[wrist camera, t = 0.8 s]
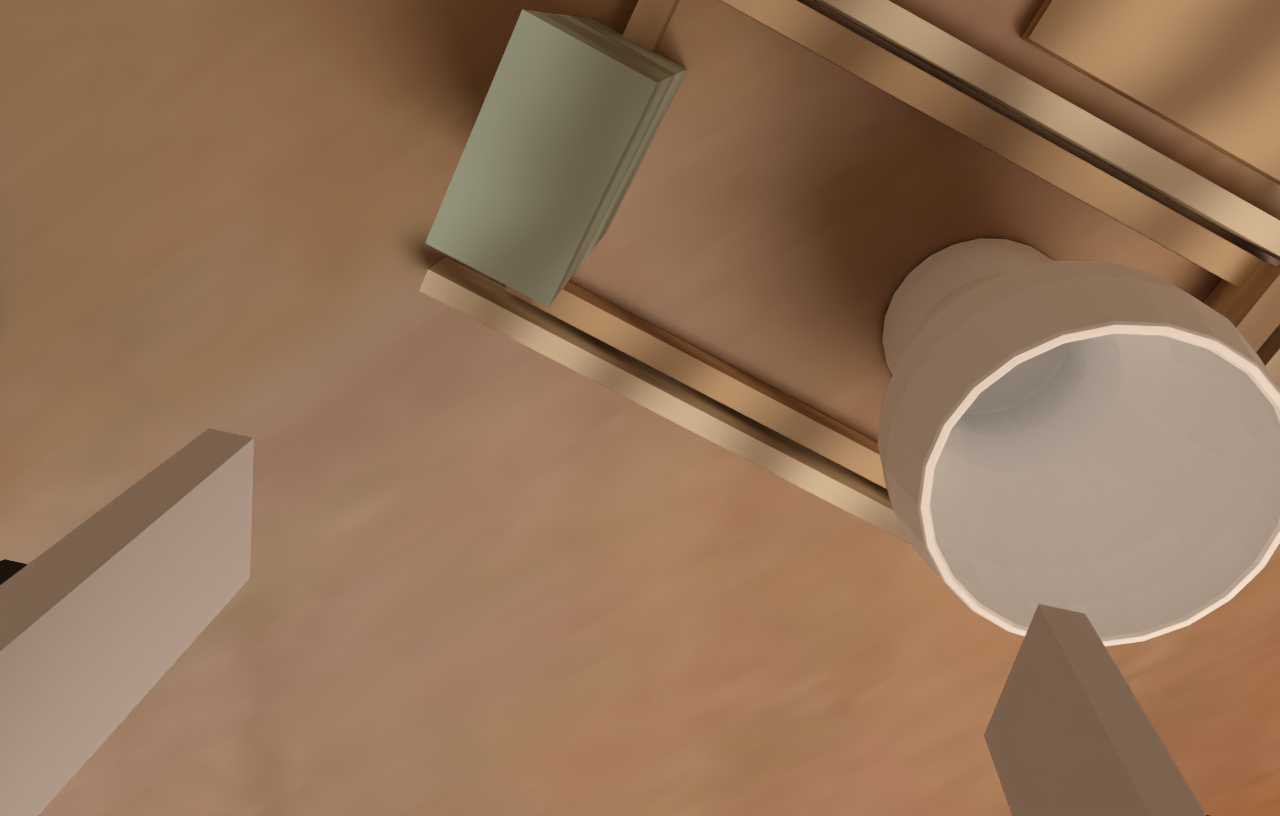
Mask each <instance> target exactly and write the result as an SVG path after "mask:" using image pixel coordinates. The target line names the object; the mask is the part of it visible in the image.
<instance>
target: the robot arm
mask: <svg viewBox="0 0 1280 816" xmlns="http://www.w3.org/2000/svg"><path fill="white" fill-rule="evenodd" d="M253 453H254V438H252V437H247V436H242V435H237V434H233V433H228V432H223V431H218V430H214V429H208V430H206V431H205V432H204V433H202V434H201V435H200V436H198V437H197V438H196V439H194V440H193V441H192V442H190V443H189V444H188V445H186V446H185V447H184V448H182V449H181V450H180V451H178V452H177V453H176V454H174V455H173V456H172V457H170V458H169V459H168V460H166V461H165V462H164V463H162V464H161V465H160V466H158V467H157V468H156V469H154V470H153V471H152V472H150V473H149V474H148V475H146V476H145V477H144V478H142V479H141V480H140V481H138V482H137V483H136V484H134V485H133V486H132V487H130V488H129V489H128V490H126V491H125V492H124V493H122V494H121V495H120V496H118V497H117V498H116V499H114V500H113V501H112V502H110V503H109V504H108V505H106V506H105V507H104V508H102V509H101V510H100V511H98V512H97V513H96V514H94V515H93V516H92V517H90V518H89V519H88V520H86V521H85V522H84V523H82V524H81V525H80V526H78V527H77V528H76V529H74V530H73V531H72V532H71V533H69V534H68V535H67V536H65V537H64V538H63V539H61V540H60V541H59V542H57V543H56V544H55V545H53V546H52V547H51V548H49V549H48V550H47V551H45V552H44V553H43V554H41V555H40V556H39V557H37V558H36V559H35V560H33V561H32V562H31V563H29V564H24V563H19V562H15V561H10V560H5V559H4V560H2V561H0V816H38V815H39V814H40V813H41V812H42V811H43V810H44V809H45V807H46V806H47V805H48V804H49V803H50V802H51V801H52V800H53V798H54V797H55V796H56V795H57V794H58V793H59V792H60V791H61V789H62V788H63V787H64V786H65V785H66V784H67V783H68V782H69V780H70V779H71V778H72V777H73V776H74V775H75V774H76V773H77V771H78V770H79V769H80V768H81V767H82V766H83V765H84V764H85V762H86V761H87V760H88V759H89V758H90V757H91V756H92V755H93V754H94V752H95V751H96V750H97V749H98V748H99V747H100V746H101V745H102V743H103V742H104V741H105V740H106V739H107V738H108V737H109V736H110V734H111V733H112V732H113V731H114V730H115V729H116V728H117V727H118V725H119V724H120V723H121V722H122V721H123V720H124V719H125V718H126V716H127V715H128V714H129V713H130V712H131V711H132V710H133V709H134V707H135V706H136V705H137V704H138V703H139V702H140V701H141V700H142V699H143V697H144V696H145V695H146V694H147V693H148V692H149V691H150V690H151V688H152V687H153V686H154V685H155V684H156V683H157V682H158V681H159V679H160V678H161V677H162V676H163V675H164V674H165V673H166V672H167V670H168V669H169V668H170V667H171V666H172V665H173V664H174V663H175V661H176V660H177V659H178V658H179V657H180V656H181V655H182V654H183V652H184V651H185V650H186V649H187V648H188V647H189V646H190V645H191V643H192V642H193V641H194V640H195V639H196V638H197V637H198V636H199V635H200V633H201V632H202V631H203V630H204V629H205V628H206V627H207V626H208V624H209V623H210V622H211V621H212V620H213V619H214V618H215V617H216V615H217V614H218V613H219V612H220V611H221V610H222V609H223V608H224V606H225V605H226V604H227V603H228V602H229V601H230V600H231V599H232V597H233V596H234V595H235V594H236V593H237V592H238V591H239V590H240V588H241V587H242V586H243V585H244V584H245V583H246V582H247V581H248V579H249V578H250V556H251V522H252V487H253ZM984 737H985V739H986V742H987V745H988V748H989V751H990V754H991V756H992V759H993V762H994V765H995V768H996V771H997V773H998V776H999V779H1000V782H1001V785H1002V788H1003V790H1004V793H1005V796H1006V799H1007V802H1008V805H1009V807H1010V810H1011V813H1012V816H1209V815H1206V814H1205V812H1204V810H1203V809H1202V807H1201V806H1200V804H1199V802H1198V801H1197V799H1196V797H1195V796H1194V794H1193V792H1192V791H1191V789H1190V787H1189V786H1188V784H1187V782H1186V781H1185V779H1184V777H1183V776H1182V774H1181V772H1180V771H1179V769H1178V767H1177V766H1176V764H1175V762H1174V761H1173V759H1172V757H1171V756H1170V754H1169V752H1168V751H1167V749H1166V747H1165V746H1164V744H1163V742H1162V741H1161V739H1160V737H1159V736H1158V734H1157V732H1156V731H1155V729H1154V727H1153V726H1152V724H1151V722H1150V721H1149V719H1148V717H1147V716H1146V714H1145V712H1144V711H1143V709H1142V707H1141V706H1140V704H1139V702H1138V701H1137V699H1136V697H1135V696H1134V694H1133V692H1132V691H1131V689H1130V687H1129V686H1128V684H1127V682H1126V681H1125V679H1124V677H1123V676H1122V674H1121V672H1120V671H1119V669H1118V667H1117V666H1116V664H1115V662H1114V661H1113V659H1112V657H1111V656H1110V654H1109V652H1108V651H1107V649H1106V647H1105V646H1104V644H1103V642H1102V641H1101V639H1100V638H1099V636H1098V634H1097V633H1096V631H1095V629H1094V628H1093V626H1092V624H1091V623H1090V621H1089V619H1088V618H1087V616H1086V614H1084V613H1080V612H1075V611H1070V610H1065V609H1061V608H1056V607H1051V606H1047V605H1042V604H1038V607H1037V609H1036V611H1035V614H1034V616H1033V619H1032V621H1031V623H1030V626H1029V628H1028V631H1027V633H1026V635H1025V638H1024V640H1023V643H1022V645H1021V647H1020V650H1019V652H1018V655H1017V657H1016V659H1015V662H1014V664H1013V667H1012V669H1011V671H1010V674H1009V676H1008V679H1007V681H1006V683H1005V686H1004V688H1003V691H1002V693H1001V695H1000V698H999V700H998V703H997V705H996V707H995V710H994V712H993V715H992V717H991V719H990V722H989V724H988V727H987V729H986V732H985V734H984Z"/></svg>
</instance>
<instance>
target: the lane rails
mask: <svg viewBox="0 0 1280 816" xmlns="http://www.w3.org/2000/svg"><path fill="white" fill-rule="evenodd" d="M814 1H816V2H818V3H820V4H821V5H823V6H825V7H827V8H829V9H830V10H832V11H834V12H836V13H837V14H839V15H841V16H843V17H845V18H846V19H848V20H850V21H852V22H854V23H855V24H857V25H859V26H861V27H863V28H864V29H866V30H868V31H870V32H871V33H873V34H875V35H877V36H879V37H880V38H882V39H884V40H886V41H888V42H889V43H891V44H893V45H895V46H896V47H898V48H900V49H902V50H904V51H905V52H907V53H909V54H911V55H913V56H914V57H916V58H918V59H920V60H922V61H923V62H925V63H927V64H929V65H930V66H932V67H934V68H936V69H938V70H939V71H941V72H943V73H945V74H947V75H948V76H950V77H952V78H954V79H955V80H957V81H959V82H961V83H963V84H964V85H966V86H968V87H970V88H972V89H973V90H975V91H977V92H979V93H981V94H982V95H984V96H986V97H988V98H989V99H991V100H993V101H995V102H997V103H998V104H1000V105H1002V106H1004V107H1006V108H1007V109H1009V110H1011V111H1013V112H1014V113H1016V114H1018V115H1020V116H1022V117H1023V118H1025V119H1027V120H1029V121H1031V122H1032V123H1034V124H1036V125H1038V126H1040V127H1041V128H1043V129H1045V130H1047V131H1048V132H1050V133H1052V134H1054V135H1056V136H1057V137H1059V138H1061V139H1063V140H1065V141H1066V142H1068V143H1070V144H1072V145H1073V146H1075V147H1077V148H1079V149H1081V150H1082V151H1084V152H1086V153H1088V154H1090V155H1091V156H1093V157H1095V158H1097V159H1099V160H1100V161H1102V162H1104V163H1106V164H1107V165H1109V166H1111V167H1113V168H1115V169H1116V170H1118V171H1120V172H1122V173H1124V174H1125V175H1127V176H1129V177H1131V178H1132V179H1134V180H1136V181H1138V182H1140V183H1141V184H1143V185H1145V186H1147V187H1149V188H1150V189H1152V190H1154V191H1156V192H1158V193H1159V194H1161V195H1163V196H1165V197H1166V198H1168V199H1170V200H1172V201H1174V202H1175V203H1177V204H1179V205H1181V206H1183V207H1184V208H1186V209H1188V210H1190V211H1192V212H1193V213H1195V214H1197V215H1199V216H1200V217H1202V218H1204V219H1206V220H1208V221H1209V222H1211V223H1213V224H1215V225H1217V226H1218V227H1220V228H1222V229H1224V230H1225V231H1227V232H1229V233H1231V234H1233V235H1234V236H1236V237H1238V238H1240V239H1242V240H1243V241H1245V242H1247V243H1249V244H1251V245H1252V246H1254V247H1256V248H1258V249H1259V250H1261V251H1263V252H1265V253H1267V254H1268V255H1270V256H1272V257H1274V258H1276V259H1277V260H1279V261H1280V220H1278V219H1276V218H1274V217H1273V216H1271V215H1269V214H1267V213H1265V212H1264V211H1262V210H1260V209H1258V208H1257V207H1255V206H1253V205H1251V204H1249V203H1248V202H1246V201H1244V200H1242V199H1241V198H1239V197H1237V196H1235V195H1234V194H1232V193H1230V192H1228V191H1226V190H1225V189H1223V188H1221V187H1219V186H1218V185H1216V184H1214V183H1212V182H1210V181H1209V180H1207V179H1205V178H1203V177H1202V176H1200V175H1198V174H1196V173H1194V172H1193V171H1191V170H1189V169H1187V168H1186V167H1184V166H1182V165H1180V164H1178V163H1177V162H1175V161H1173V160H1171V159H1170V158H1168V157H1166V156H1164V155H1162V154H1161V153H1159V152H1157V151H1155V150H1154V149H1152V148H1150V147H1148V146H1146V145H1145V144H1143V143H1141V142H1139V141H1138V140H1136V139H1134V138H1132V137H1130V136H1129V135H1127V134H1125V133H1123V132H1122V131H1120V130H1118V129H1116V128H1114V127H1113V126H1111V125H1109V124H1107V123H1106V122H1104V121H1102V120H1100V119H1099V118H1097V117H1095V116H1093V115H1091V114H1090V113H1088V112H1086V111H1084V110H1083V109H1081V108H1079V107H1077V106H1075V105H1074V104H1072V103H1070V102H1068V101H1067V100H1065V99H1063V98H1061V97H1059V96H1058V95H1056V94H1054V93H1052V92H1051V91H1049V90H1047V89H1045V88H1043V87H1042V86H1040V85H1038V84H1036V83H1035V82H1033V81H1031V80H1029V79H1027V78H1026V77H1024V76H1022V75H1020V74H1019V73H1017V72H1015V71H1013V70H1011V69H1010V68H1008V67H1006V66H1004V65H1003V64H1001V63H999V62H997V61H995V60H994V59H992V58H990V57H988V56H987V55H985V54H983V53H981V52H980V51H978V50H976V49H974V48H972V47H971V46H969V45H967V44H965V43H964V42H962V41H960V40H958V39H956V38H955V37H953V36H951V35H949V34H948V33H946V32H944V31H942V30H940V29H939V28H937V27H935V26H933V25H932V24H930V23H928V22H926V21H924V20H923V19H921V18H919V17H917V16H916V15H914V14H912V13H910V12H908V11H907V10H905V9H903V8H901V7H900V6H898V5H896V4H894V3H892V2H891V1H889V0H814ZM1021 39H1023V40H1025V41H1026V42H1028V43H1030V44H1032V45H1033V46H1035V47H1037V48H1039V49H1041V50H1042V51H1044V52H1046V53H1048V54H1049V55H1051V56H1053V57H1055V58H1056V59H1058V60H1060V61H1062V62H1063V63H1065V64H1067V65H1069V66H1071V67H1072V68H1074V69H1076V70H1078V71H1079V72H1081V73H1083V74H1085V75H1086V76H1088V77H1090V78H1092V79H1094V80H1095V81H1097V82H1099V83H1101V84H1102V85H1104V86H1106V87H1108V88H1109V89H1111V90H1113V91H1115V92H1116V93H1118V94H1120V95H1122V96H1124V97H1125V98H1127V99H1129V100H1131V101H1132V102H1134V103H1136V104H1138V105H1139V106H1141V107H1143V108H1145V109H1147V110H1148V111H1150V112H1152V113H1154V114H1155V115H1157V116H1159V117H1161V118H1162V119H1164V120H1166V121H1168V122H1169V123H1171V124H1173V125H1175V126H1177V127H1178V128H1180V129H1182V130H1184V131H1185V132H1187V133H1189V134H1191V135H1192V136H1194V137H1196V138H1198V139H1199V140H1201V141H1203V142H1205V143H1207V144H1208V145H1210V146H1212V147H1214V148H1215V149H1217V150H1219V151H1221V152H1222V153H1224V154H1226V155H1228V156H1230V157H1231V158H1233V159H1235V160H1237V161H1238V162H1240V163H1242V164H1244V165H1245V166H1247V167H1249V168H1251V169H1252V170H1254V171H1256V172H1258V173H1260V174H1261V175H1263V176H1265V177H1267V178H1268V179H1270V180H1272V181H1274V182H1275V183H1277V184H1279V185H1280V0H1045V1H1044V3H1043V4H1042V6H1041V7H1040V9H1039V11H1038V12H1037V14H1036V15H1035V17H1034V19H1033V20H1032V22H1031V23H1030V25H1029V26H1028V28H1027V30H1026V31H1025V33H1024V34H1023V36H1022V38H1021ZM505 289H506V287H504V286H502V285H500V284H498V283H496V282H494V281H493V280H491V279H489V278H487V277H485V276H483V275H481V274H479V273H477V272H475V271H473V270H471V269H469V268H468V267H466V266H464V265H462V264H460V263H458V262H456V261H454V260H452V259H450V258H448V257H445V258H444V259H442V260H441V261H439V262H438V263H437V264H435V265H434V266H432V267H431V268H429V269H428V271H427V274H426V276H425V278H424V281H423V283H422V285H421V288H420V290H419V291H421V292H423V293H425V294H426V295H428V296H430V297H432V298H434V299H436V300H438V301H440V302H442V303H444V304H446V305H448V306H450V307H452V308H454V309H456V310H457V311H459V312H461V313H463V314H465V315H467V316H469V317H471V318H473V319H475V320H477V321H479V322H481V323H483V324H485V325H487V326H489V327H490V328H492V329H494V330H496V331H498V332H500V333H502V334H504V335H506V336H508V337H510V338H512V339H514V340H516V341H518V342H520V343H521V344H523V345H525V346H527V347H529V348H531V349H533V350H535V351H537V352H539V353H541V354H543V355H545V356H547V357H549V358H551V359H552V360H554V361H556V362H558V363H560V364H562V365H564V366H566V367H568V368H570V369H572V370H574V371H576V372H578V373H580V374H582V375H583V376H585V377H587V378H589V379H591V380H593V381H595V382H597V383H599V384H601V385H603V386H605V387H607V388H609V389H611V390H613V391H614V392H616V393H618V394H620V395H622V396H624V397H626V398H628V399H630V400H632V401H634V402H636V403H638V404H640V405H642V406H644V407H645V408H647V409H649V410H651V411H653V412H655V413H657V414H659V415H661V416H663V417H665V418H667V419H669V420H671V421H673V422H675V423H676V424H678V425H680V426H682V427H684V428H686V429H688V430H690V431H692V432H694V433H696V434H698V435H700V436H702V437H704V438H706V439H707V440H709V441H711V442H713V443H715V444H717V445H719V446H721V447H723V448H725V449H727V450H729V451H731V452H733V453H735V454H737V455H739V456H740V457H742V458H744V459H746V460H748V461H750V462H752V463H754V464H756V465H758V466H760V467H762V468H764V469H766V470H768V471H770V472H771V473H773V474H775V475H777V476H779V477H781V478H783V479H785V480H787V481H789V482H791V483H793V484H795V485H797V486H799V487H801V488H802V489H804V490H806V491H808V492H810V493H812V494H814V495H816V496H818V497H820V498H822V499H824V500H826V501H828V502H830V503H832V504H833V505H835V506H837V507H839V508H841V509H843V510H845V511H847V512H849V513H851V514H853V515H855V516H857V517H859V518H861V519H863V520H864V521H866V522H868V523H870V524H872V525H874V526H876V527H878V528H880V529H882V530H884V531H886V532H888V533H890V534H892V535H894V536H895V537H897V538H899V539H901V540H903V541H905V542H907V543H909V544H910V542H909V540H908V538H907V536H906V534H905V532H904V530H903V529H902V527H901V525H900V523H899V521H898V519H897V517H896V515H895V513H894V511H893V509H892V505H891V502H890V498H889V495H888V491H887V489H886V488H884V487H882V486H880V485H878V484H876V483H874V482H872V481H870V480H869V479H867V478H865V477H863V476H861V475H859V474H857V473H855V472H853V471H851V470H849V469H847V468H845V467H843V466H842V465H840V464H838V463H836V462H834V461H832V460H830V459H828V458H826V457H824V456H822V455H820V454H818V453H817V452H815V451H813V450H811V449H809V448H807V447H805V446H803V445H801V444H799V443H797V442H795V441H793V440H792V439H790V438H788V437H786V436H784V435H782V434H780V433H778V432H776V431H774V430H772V429H770V428H768V427H767V426H765V425H763V424H761V423H759V422H757V421H755V420H753V419H751V418H749V417H747V416H745V415H743V414H742V413H740V412H738V411H736V410H734V409H732V408H730V407H728V406H726V405H724V404H722V403H720V402H718V401H717V400H715V399H713V398H711V397H709V396H707V395H705V394H703V393H701V392H699V391H697V390H695V389H693V388H692V387H690V386H688V385H686V384H684V383H682V382H680V381H678V380H676V379H674V378H672V377H670V376H668V375H666V374H665V373H663V372H661V371H659V370H657V369H655V368H653V367H651V366H649V365H647V364H645V363H643V362H641V361H640V360H638V359H636V358H634V357H632V356H630V355H628V354H626V353H624V352H622V351H620V350H618V349H616V348H615V347H613V346H611V345H609V344H607V343H605V342H603V341H601V340H599V339H597V338H595V337H593V336H591V335H590V334H588V333H586V332H584V331H582V330H580V329H578V328H576V327H574V326H572V325H570V324H568V323H566V322H565V321H563V320H561V319H559V318H557V317H555V316H553V315H551V314H549V313H547V312H545V311H543V310H541V309H540V308H538V307H536V306H534V305H532V304H530V303H528V302H526V301H524V300H522V299H520V298H518V297H516V296H515V295H513V294H511V293H509V292H507V291H505ZM1256 353H1257V354H1258V356H1259V357H1260V359H1261V360H1262V362H1263V364H1264V365H1265V367H1266V368H1267V370H1268V372H1269V373H1270V375H1271V376H1272V378H1273V380H1274V381H1275V383H1276V384H1277V386H1278V388H1280V324H1279V325H1278V327H1277V328H1276V329H1275V330H1274V331H1273V333H1272V334H1271V335H1270V336H1269V337H1268V339H1267V340H1266V341H1265V342H1264V343H1263V345H1262V346H1261V347H1260V348H1259V349H1258V351H1257V352H1256Z"/></svg>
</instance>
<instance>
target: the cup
mask: <svg viewBox="0 0 1280 816" xmlns="http://www.w3.org/2000/svg"><path fill="white" fill-rule="evenodd" d="M882 342H883V347H884V353H885V359H886V364H887V366H888V368H889V370H890V372H891V374H892V378H891V380H890V383H889V385H888V388H887V390H886V392H885V395H884V397H883V400H882V405H881V414H880V423H879V433H878V448H879V453H880V459H881V464H882V469H883V475H884V480H885V484H886V487H887V491H888V495H889V498H890V502H891V505H892V509H893V511H894V513H895V515H896V517H897V519H898V521H899V523H900V525H901V527H902V529H903V530H904V532H905V534H906V536H907V538H908V540H909V542H910V544H911V546H912V547H913V548H914V549H915V551H916V552H917V553H918V554H919V555H920V556H921V557H922V558H923V559H924V560H925V562H926V563H927V564H928V565H929V566H930V567H931V568H932V569H933V570H934V571H935V573H936V574H937V575H938V576H939V577H940V578H941V579H942V580H943V581H944V582H945V583H946V584H947V585H948V586H949V587H950V588H951V590H952V591H953V592H954V593H955V594H956V595H957V596H958V597H959V598H960V599H961V600H962V601H963V602H964V603H965V604H966V605H967V606H968V607H969V608H970V609H971V610H972V611H974V612H976V613H977V614H979V615H981V616H983V617H984V618H986V619H988V620H989V621H991V622H993V623H994V624H996V625H998V626H999V627H1001V628H1003V629H1005V630H1006V631H1009V632H1012V633H1015V634H1019V635H1022V636H1025V635H1026V633H1027V631H1028V628H1029V626H1030V623H1031V621H1032V619H1033V616H1034V614H1035V611H1036V609H1037V607H1038V604H1042V605H1047V606H1051V607H1056V608H1061V609H1065V610H1070V611H1075V612H1080V613H1084V614H1086V616H1087V618H1088V619H1089V621H1090V623H1091V624H1092V626H1093V628H1094V629H1095V631H1096V633H1097V634H1098V636H1099V638H1100V639H1101V641H1102V642H1103V644H1104V646H1112V645H1119V644H1126V643H1134V642H1141V641H1145V640H1148V639H1151V638H1154V637H1157V636H1160V635H1162V634H1165V633H1168V632H1171V631H1174V630H1177V629H1179V628H1182V627H1185V626H1188V625H1190V624H1192V623H1193V622H1195V621H1197V620H1198V619H1200V618H1202V617H1203V616H1205V615H1207V614H1208V613H1210V612H1211V611H1213V610H1215V609H1216V608H1218V607H1220V606H1221V605H1223V604H1225V603H1226V602H1228V601H1230V600H1231V599H1232V598H1233V597H1234V596H1235V595H1236V594H1237V593H1238V592H1239V591H1240V590H1241V589H1242V588H1243V587H1244V586H1245V585H1246V584H1247V583H1249V582H1250V581H1251V580H1252V579H1253V578H1254V577H1255V576H1256V575H1257V574H1258V573H1259V572H1260V571H1261V570H1262V569H1263V568H1264V567H1265V565H1266V564H1267V562H1268V561H1269V559H1270V557H1271V556H1272V554H1273V553H1274V551H1275V549H1276V548H1277V546H1278V545H1279V543H1280V389H1279V388H1278V386H1277V384H1276V383H1275V381H1274V380H1273V378H1272V376H1271V375H1270V373H1269V372H1268V370H1267V368H1266V367H1265V365H1264V364H1263V362H1262V360H1261V359H1260V357H1259V356H1258V354H1257V353H1256V352H1255V351H1254V350H1253V348H1252V347H1251V346H1250V345H1249V343H1248V342H1247V341H1246V340H1245V339H1244V337H1243V336H1242V335H1241V334H1240V332H1239V331H1238V330H1237V329H1236V328H1235V326H1234V325H1233V324H1232V323H1231V321H1230V320H1229V319H1227V318H1226V317H1224V316H1223V315H1221V314H1219V313H1218V312H1216V311H1215V310H1213V309H1212V308H1210V307H1209V306H1207V305H1206V304H1204V303H1202V302H1201V301H1199V300H1198V299H1196V298H1195V297H1193V296H1192V295H1190V294H1189V293H1187V292H1185V291H1183V290H1182V289H1180V288H1178V287H1176V286H1175V285H1173V284H1171V283H1169V282H1168V281H1166V280H1164V279H1162V278H1161V277H1159V276H1157V275H1154V274H1150V273H1147V272H1144V271H1140V270H1137V269H1133V268H1130V267H1127V266H1123V265H1120V264H1117V263H1113V262H1103V261H1070V260H1059V261H1053V260H1052V259H1050V258H1049V257H1047V256H1045V255H1044V254H1042V253H1041V252H1039V251H1038V250H1036V249H1034V248H1033V247H1031V246H1028V245H1025V244H1021V243H1018V242H1014V241H1011V240H1008V239H984V238H980V239H975V240H971V241H966V242H962V243H957V244H953V245H951V246H949V247H947V248H945V249H943V250H941V251H939V252H937V253H935V254H933V255H931V256H929V257H928V258H927V259H925V260H924V261H923V262H922V263H921V264H920V265H918V266H917V267H916V268H915V269H914V270H912V271H911V272H910V273H909V274H908V275H907V277H906V278H905V280H904V281H903V282H902V284H901V285H900V286H899V288H898V289H897V290H896V292H895V293H894V295H893V298H892V300H891V303H890V305H889V308H888V310H887V313H886V315H885V320H884V330H883V339H882Z"/></svg>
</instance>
